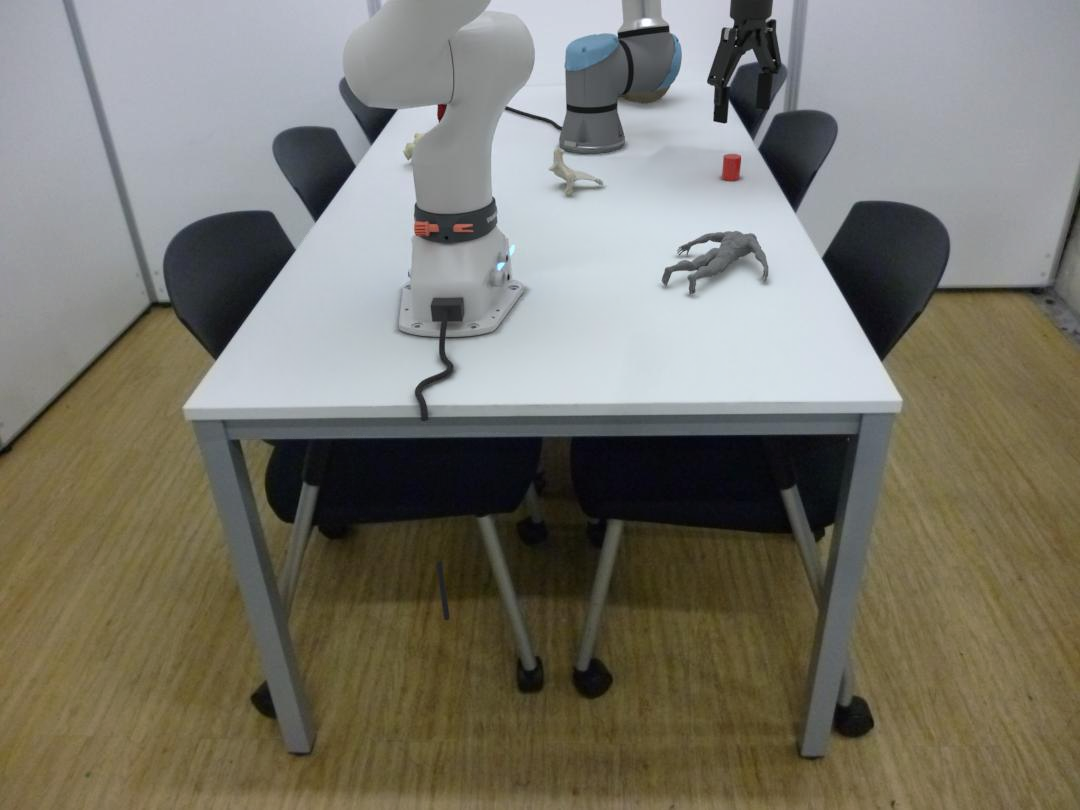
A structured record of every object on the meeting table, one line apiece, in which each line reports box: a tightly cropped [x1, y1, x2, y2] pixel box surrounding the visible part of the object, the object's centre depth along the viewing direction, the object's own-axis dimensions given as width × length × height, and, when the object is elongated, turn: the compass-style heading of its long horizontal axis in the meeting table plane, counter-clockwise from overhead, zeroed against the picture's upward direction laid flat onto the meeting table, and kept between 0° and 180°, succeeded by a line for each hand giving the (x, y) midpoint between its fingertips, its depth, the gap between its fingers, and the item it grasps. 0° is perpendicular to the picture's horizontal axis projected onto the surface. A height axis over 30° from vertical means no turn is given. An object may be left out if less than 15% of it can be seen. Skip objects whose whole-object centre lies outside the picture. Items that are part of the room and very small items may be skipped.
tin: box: [721, 153, 742, 182], centre depth 169 cm, size 4×4×4 cm
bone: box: [547, 147, 604, 196], centre depth 167 cm, size 10×6×10 cm
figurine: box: [661, 230, 769, 295], centre depth 130 cm, size 17×4×20 cm
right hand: (741, 115), depth 162 cm, fingers open, 13 cm apart
